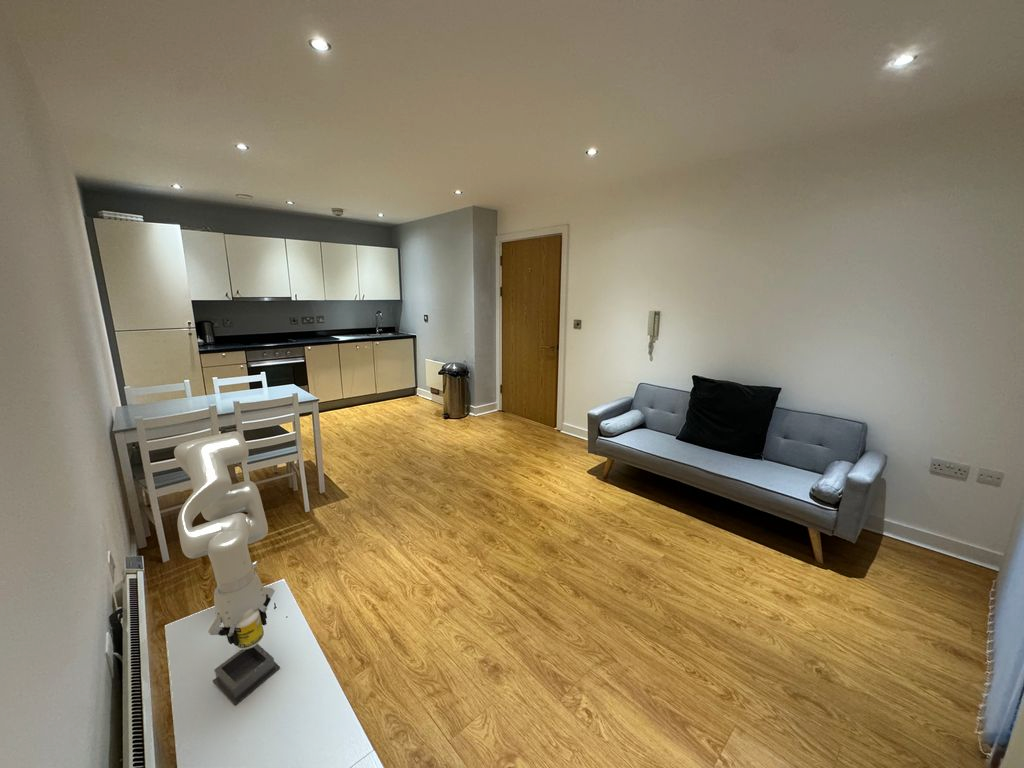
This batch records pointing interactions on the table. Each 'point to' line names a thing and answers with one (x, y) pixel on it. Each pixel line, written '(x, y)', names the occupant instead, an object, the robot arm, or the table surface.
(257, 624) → the pill bottle
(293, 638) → the table surface
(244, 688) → the socket
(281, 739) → the table surface
